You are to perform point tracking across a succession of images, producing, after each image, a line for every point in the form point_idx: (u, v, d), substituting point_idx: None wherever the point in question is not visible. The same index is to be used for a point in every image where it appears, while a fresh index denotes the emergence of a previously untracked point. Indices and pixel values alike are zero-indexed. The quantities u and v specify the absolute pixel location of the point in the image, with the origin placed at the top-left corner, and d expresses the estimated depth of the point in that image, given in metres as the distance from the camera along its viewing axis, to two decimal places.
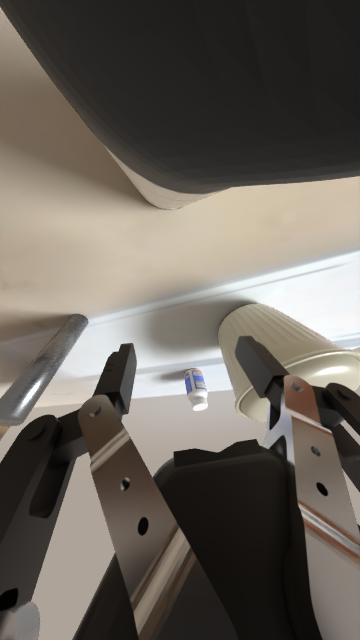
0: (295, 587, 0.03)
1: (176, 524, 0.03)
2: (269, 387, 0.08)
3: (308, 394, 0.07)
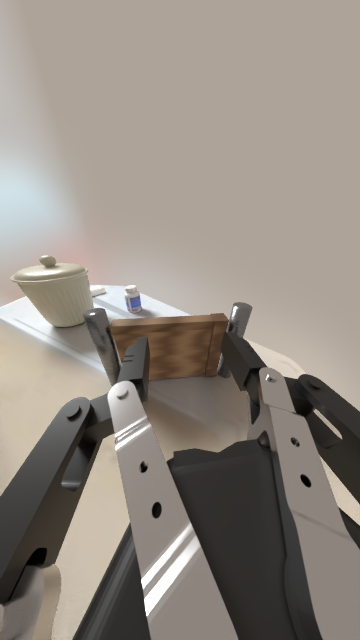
0: (295, 587, 0.03)
1: (188, 519, 0.03)
2: (247, 379, 0.08)
3: (280, 384, 0.07)
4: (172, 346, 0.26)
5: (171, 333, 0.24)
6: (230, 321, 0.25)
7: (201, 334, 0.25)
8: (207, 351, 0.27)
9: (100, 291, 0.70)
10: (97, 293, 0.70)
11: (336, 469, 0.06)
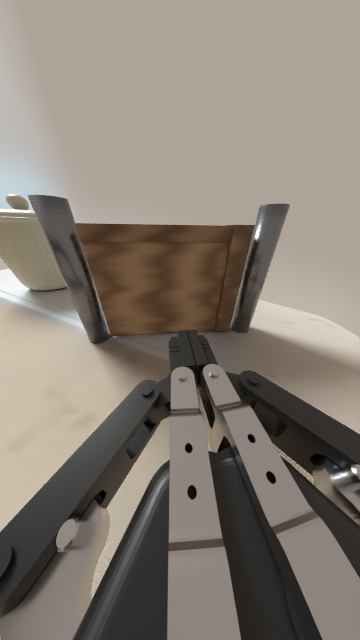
0: (295, 586, 0.03)
1: (219, 525, 0.03)
2: (198, 376, 0.09)
3: (219, 380, 0.07)
4: (171, 274, 0.18)
5: (169, 247, 0.16)
6: (254, 236, 0.18)
7: (213, 253, 0.17)
8: (220, 287, 0.20)
9: None
10: None
11: (288, 451, 0.06)
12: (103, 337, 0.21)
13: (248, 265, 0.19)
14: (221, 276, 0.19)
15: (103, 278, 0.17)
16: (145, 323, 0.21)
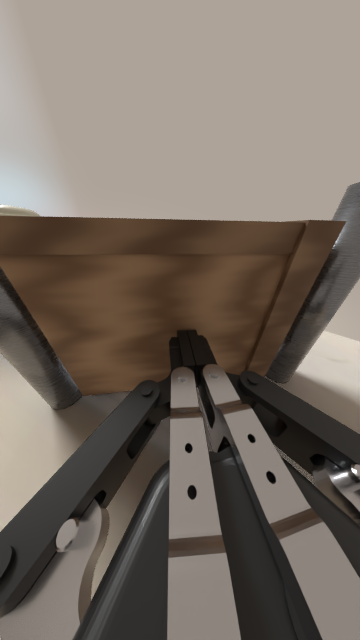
0: (295, 587, 0.03)
1: (219, 525, 0.03)
2: (197, 376, 0.09)
3: (219, 380, 0.07)
4: (180, 308, 0.10)
5: (178, 263, 0.08)
6: None
7: (257, 273, 0.09)
8: (259, 324, 0.12)
9: None
10: None
11: (288, 451, 0.06)
12: (70, 400, 0.14)
13: (311, 290, 0.11)
14: (264, 309, 0.11)
15: (55, 319, 0.09)
16: (137, 377, 0.14)
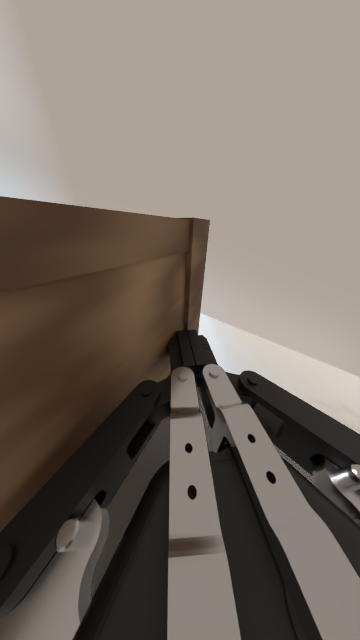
0: (295, 586, 0.03)
1: (219, 525, 0.03)
2: (197, 376, 0.09)
3: (219, 380, 0.07)
4: (99, 365, 0.06)
5: (61, 297, 0.04)
6: None
7: (169, 277, 0.08)
8: (182, 325, 0.12)
9: None
10: None
11: (288, 451, 0.06)
12: None
13: None
14: (182, 309, 0.11)
15: None
16: None
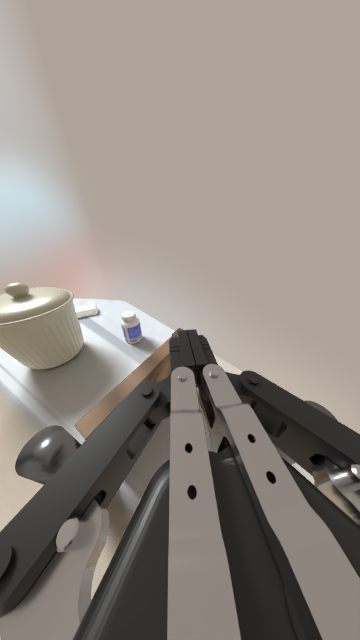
0: (295, 588, 0.03)
1: (219, 525, 0.03)
2: (197, 376, 0.09)
3: (219, 380, 0.07)
4: None
5: (154, 377, 0.21)
6: None
7: None
8: None
9: (91, 312, 0.59)
10: (87, 314, 0.58)
11: (288, 451, 0.06)
12: None
13: None
14: None
15: None
16: None
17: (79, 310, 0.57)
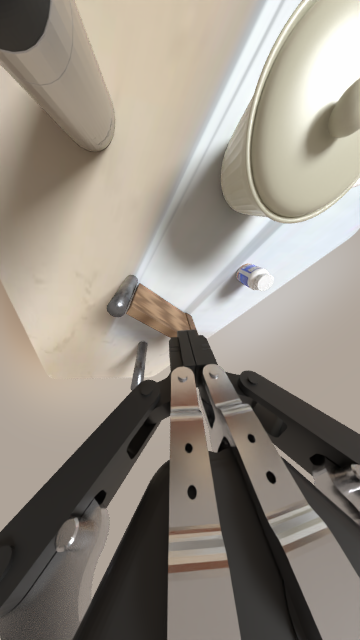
0: (295, 586, 0.03)
1: (219, 525, 0.03)
2: (198, 376, 0.09)
3: (219, 380, 0.07)
4: None
5: None
6: (137, 375, 0.39)
7: None
8: None
9: None
10: None
11: (288, 451, 0.06)
12: None
13: (137, 365, 0.42)
14: None
15: None
16: None
17: None
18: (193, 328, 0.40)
